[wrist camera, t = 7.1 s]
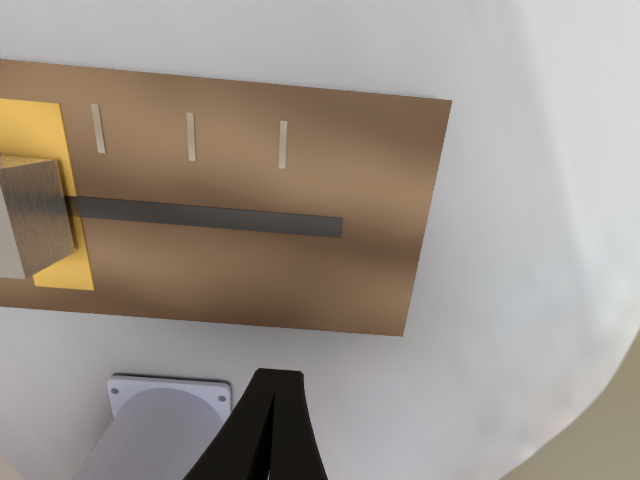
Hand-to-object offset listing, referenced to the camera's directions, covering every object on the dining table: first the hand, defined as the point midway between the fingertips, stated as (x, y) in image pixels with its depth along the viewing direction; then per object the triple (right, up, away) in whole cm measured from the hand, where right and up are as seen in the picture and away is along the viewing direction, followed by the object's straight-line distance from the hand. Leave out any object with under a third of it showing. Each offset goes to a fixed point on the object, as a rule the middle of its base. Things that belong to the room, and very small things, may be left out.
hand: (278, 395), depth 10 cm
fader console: (-7, +7, +8) cm, 12 cm away
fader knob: (-12, +6, +5) cm, 14 cm away
